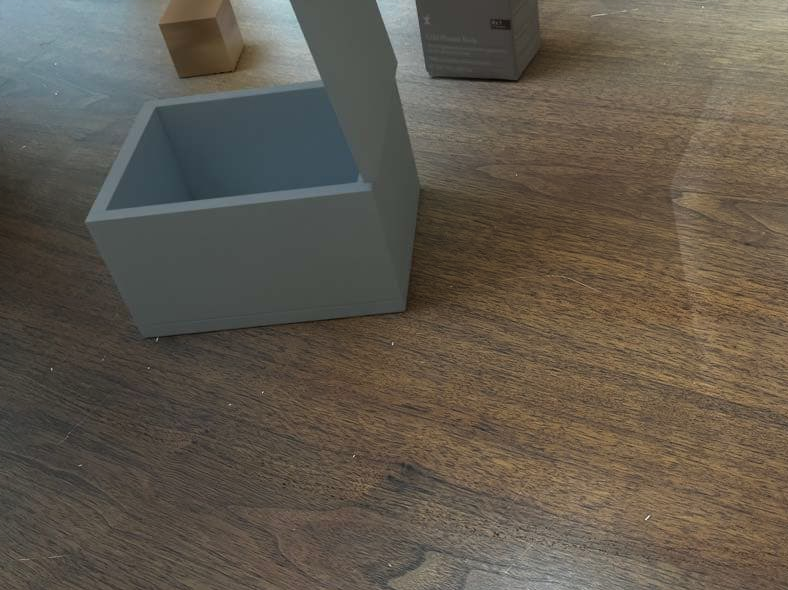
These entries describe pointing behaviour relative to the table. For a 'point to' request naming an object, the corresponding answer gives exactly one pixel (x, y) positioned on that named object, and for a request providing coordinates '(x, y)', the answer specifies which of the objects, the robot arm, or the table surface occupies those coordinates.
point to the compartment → (255, 213)
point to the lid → (353, 71)
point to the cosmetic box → (478, 37)
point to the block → (201, 36)
